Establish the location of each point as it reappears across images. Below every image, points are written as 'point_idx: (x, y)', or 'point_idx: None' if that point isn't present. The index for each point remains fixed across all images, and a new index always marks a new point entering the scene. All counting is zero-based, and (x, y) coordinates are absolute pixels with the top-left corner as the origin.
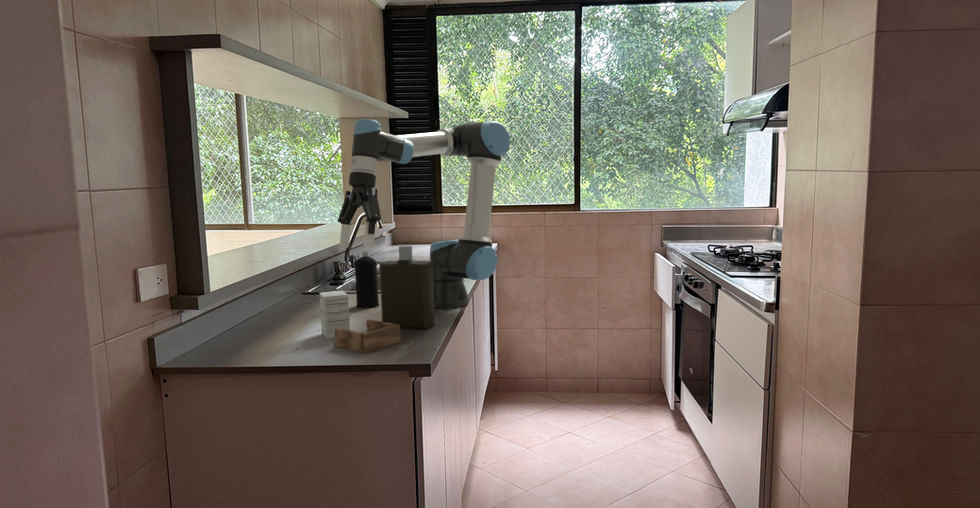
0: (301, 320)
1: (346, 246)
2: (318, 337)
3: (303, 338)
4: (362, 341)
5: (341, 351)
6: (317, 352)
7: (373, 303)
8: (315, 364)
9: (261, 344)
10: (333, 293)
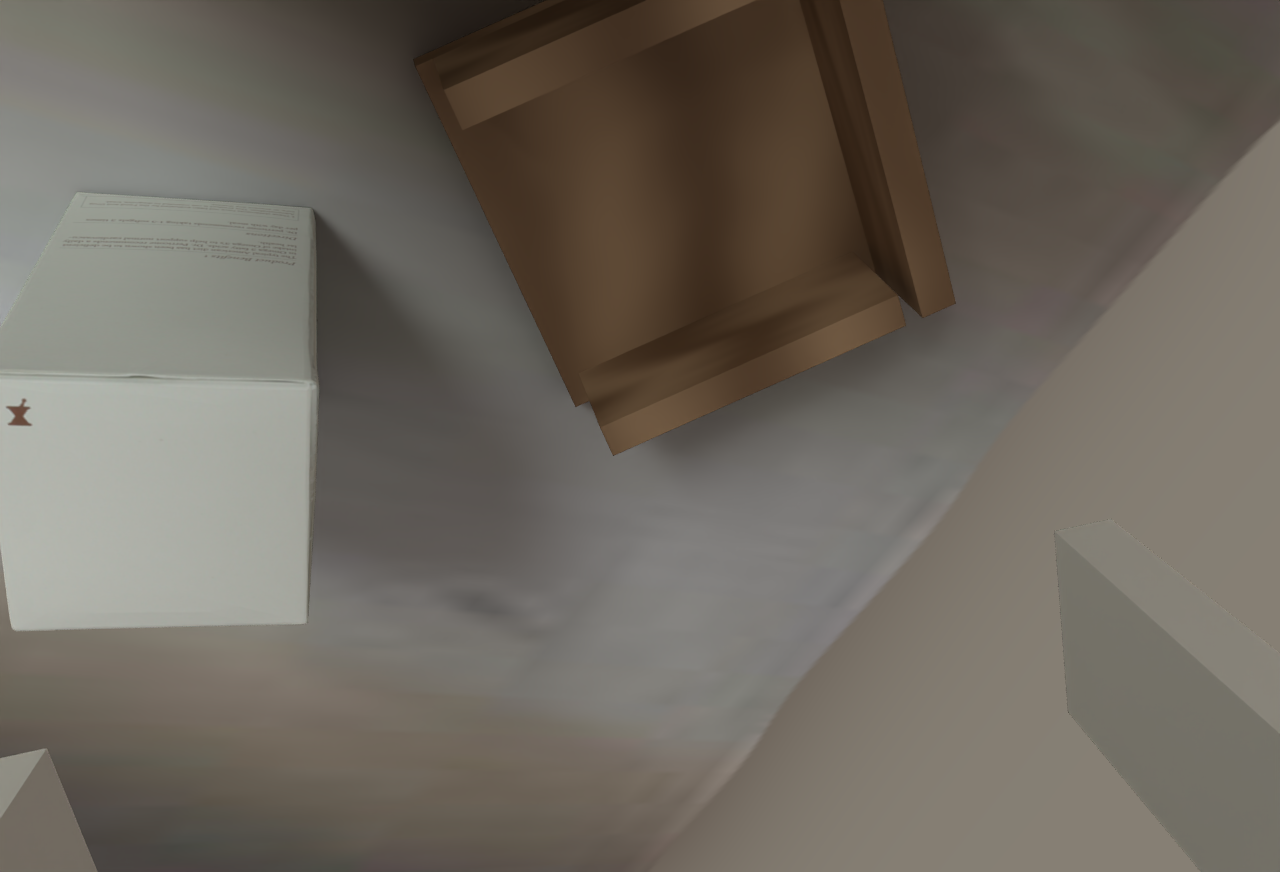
0: None
1: (69, 808)
2: None
3: None
4: (899, 295)
5: None
6: (659, 515)
7: None
8: (899, 561)
9: (228, 780)
10: (170, 515)
